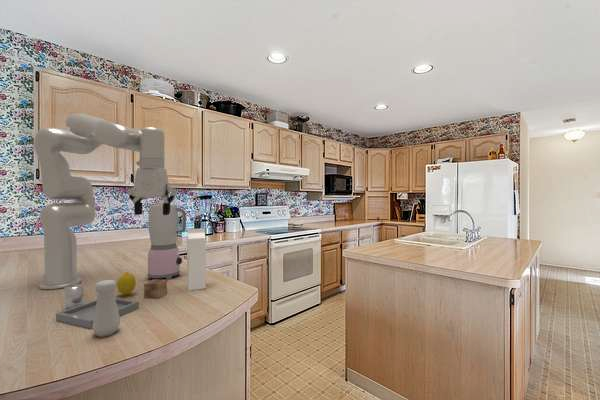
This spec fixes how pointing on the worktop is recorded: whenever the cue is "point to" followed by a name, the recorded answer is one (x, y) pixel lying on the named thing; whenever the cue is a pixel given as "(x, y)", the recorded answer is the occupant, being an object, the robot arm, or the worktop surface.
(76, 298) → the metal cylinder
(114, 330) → the salt shaker
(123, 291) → the lemon
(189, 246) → the milk
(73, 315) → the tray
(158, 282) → the walnut block
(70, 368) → the worktop surface
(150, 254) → the blender
